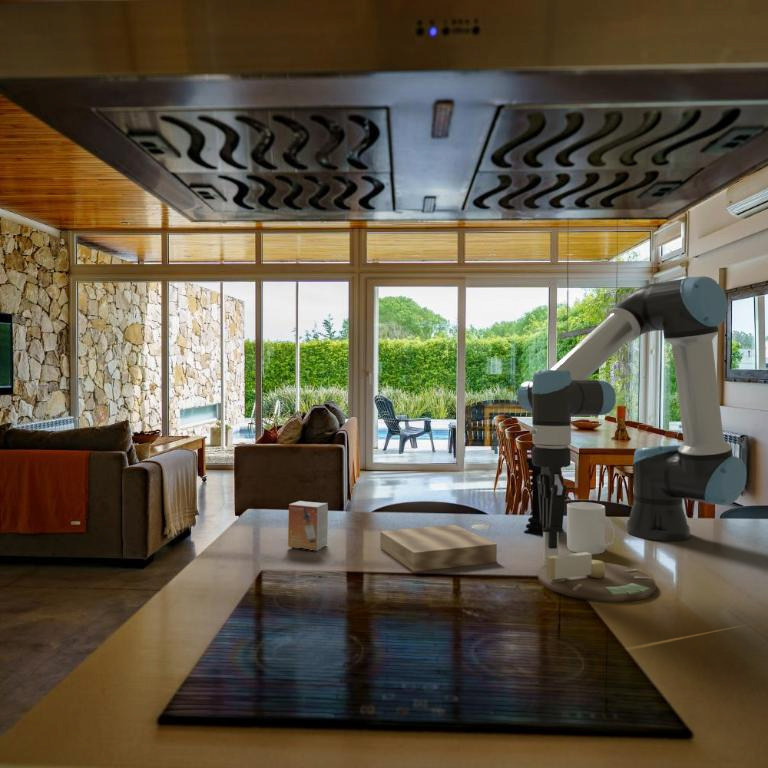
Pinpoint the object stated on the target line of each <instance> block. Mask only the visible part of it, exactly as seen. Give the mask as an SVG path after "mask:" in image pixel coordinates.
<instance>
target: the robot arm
mask: <svg viewBox="0 0 768 768" xmlns="http://www.w3.org/2000/svg"><path fill="white" fill-rule="evenodd" d="M728 305H729V304H728V299H727V295H726V294H725V291H724V289H723V287H722V286H721V285H720V284H719V283H718V282H717V281H716V280H715V279H714V278H712V277H710V276H703V275H702V276H701V275H700V276H689V277H684V278H680V279H675V280H673V279H672V280H667V281H661V282H655V283H650V284H647V285H644V286H641V287H639V288H637V289H636V290H634V291H632V292H631V293H630V294H628V295H626V296H625V297H624V298H622V299H621V300H619V302H617V303H616V304H615V305H613V307H612V308H610V309H609V310H608V311H607V312H606V313H605V316H604V320H603V321H602V322H601V323H600V324H598V325H597V326H596V328H594V329H593V330H592V331H591V332H589V334H587V335H586V336H585V337H584V338H583V339H582V340H581V341H580V342H578V343H577V344H576V345H575V346H574V347H573V348H572V349H571V350H570V351H568V352H567V353H566V354H565V355H564V356H563V357H561V358H560V360H559V361H557V362H556V363H555V364H553V366H552V367H551V368H550V369H539V370H536V371H535V372H534V373H533V375H532V379H531V380H526V381H523V382H522V383H521V384H520V386H519V388H518V390H517V402H518V404H519V407H521V409H523V411H525V412H529V413H532V415H531V417H532V418H531V419H532V422H531V423H532V429H529V434H530V435H532V438H531V439H532V444H533V445H534V446H533V447H532V448H531V458H532V463H533V465H535V466H539V467H541V474H539V476H537V483H538V494H539V512H540V523H541V524H542V527H543V528H542V531H543V535H542V545H543V546H542V563H543V564H544V565H547V557H550V556H556V555H559V537H560V536H559V534H560V533H559V531H562V529H563V530H564V528H563V526H564V525H563V524H564V511H565V500H566V494H567V491H568V487H567V485H565V484H564V480H565V479H564V476H563V474H562V468H567V467H570V466H571V453H572V452H571V449H570V447H569V446H570V445H571V444H572V417H586V416H587V417H588V416H589V417H594V416H595V417H598V416H605V415H607V414H610V412H611V411H613V409H614V407H615V406H616V401H617V397H616V396H617V395H616V394H617V393H616V391H615V389H614V387H613V386H612V384H611V383H609V382H608V381H606V380H599V379H589V378H591V376H592V375H593V374H594V373H596V371H597V370H598V369H599V368H600V367H602V366H603V365H604V364H605V363H606V362H607V361H608V360H609V359H610V358H611V357H612V356H614V355H615V354H616V353H617V352H618V351H619V350H620V349H621V348H622V347H623V346H624V345H625V344H626V343H627V342H633V341H636V339H638V338H639V337H640V336H641V335H644V334H647V333H650V332H656V331H662V333H663V339H664V340H665V341H666V342H668V343H669V344H670V345H671V348H672V356H673V365H674V374H675V380H676V390H677V399H678V404H679V405H678V407H679V413H680V415H679V416H680V424H681V431H682V437H683V439H682V440H683V442H682V444H677V445H660V446H658V445H657V446H656V445H655V446H642V447H641V446H640V447H638V448H636V449H635V451H634V452H633V453H634V456H633V463H632V466H633V504H632V507H631V510H630V514H629V519H628V520H627V521H626V532H627V534H629V535H631V536H634V537H637V538H641V539H647V540H653V541H664V542H675V541H676V542H677V541H678V542H681V541H685V540H688V539H689V540H690V538H691V528H690V526H689V525H688V521H687V518H686V513H685V511H684V507H683V505H684V504H683V500H689V501H694V502H699V503H704V504H705V503H706V504H707V505H717V506H729V505H731V504H733V503H734V502H736V501H737V500H738V499H739V498H740V496H741V494H742V493H743V491H744V489H745V486H746V482H747V472H748V471H747V467H746V463H744V461H743V459H741V458H739V457H737V456H734V453H733V447H732V445H731V443H728V442H727V441H726V440H725V439H724V431H723V429H724V428H723V423H722V415H721V414H722V413H721V412H722V411H721V405H720V395H719V387H718V379H717V371H716V369H717V368H716V361H715V354H714V344H713V343H714V342H713V340H714V338H715V337H716V336H717V335H718V334H719V326H720V325H721V324H723V323H725V320H726V319H727V313H728V309H729V306H728ZM562 532H563V531H562Z"/></svg>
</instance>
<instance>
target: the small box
mask: <svg viewBox="0 0 768 768" xmlns="http://www.w3.org/2000/svg"><path fill="white" fill-rule="evenodd" d="M328 510H329V504H328V502H316V501H315V502H313V501H304V500H298V501H296V502H292V503H289V504H288V529H287V530H288V531H287V533H288V534H287V536H288V537H287V547H288V546H289V547H288V548H290V547H294V548H293V549H299V548H305V549H312V550H318V551H320V550H322V549H323V548H322V547H324V546H326V545H327V546H328V526H329V524H328V522H329V521H328V518H329V517H328V516H329V515H328V514H329V511H328ZM327 546H326V547H327ZM321 548H322V549H321ZM324 548H325V547H324ZM305 549H304V550H305ZM319 549H320V550H319Z"/></svg>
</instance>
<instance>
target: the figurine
mask: <svg viewBox="0 0 768 768" xmlns="http://www.w3.org/2000/svg"><path fill="white" fill-rule="evenodd" d="M468 522H469V523H470V524H471V522H472V525H471V527H472V528H471V529H473V528H474V530H479V531H489V530H491V529H492V523H491V522H490V521H487V520H484V521H483V520H482V519H477V520H476V518H474V519H473V517H470V516H468V517H467V518H466V523H468ZM480 522H482V523H480ZM474 523H475V524H474ZM477 523H478V524H477ZM488 524H490V525H488Z"/></svg>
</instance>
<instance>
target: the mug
mask: <svg viewBox="0 0 768 768" xmlns="http://www.w3.org/2000/svg"><path fill="white" fill-rule="evenodd" d="M566 512H567V513H566V546H567V550H569V552H572V553H582V552H588V553H590V554H592V555H599V554H600V553H601V554H603V553H604V552H605V550H607V549H610V548H611V547H612V546H613V544H614V541H615V528H614V525H613V522H612V521H611V520H610V519H609V518H608V517H607V515H606V506H605V505H603V504H600V503H595V502H585V501H580V502H578V501H577V502H575V501H574V502H569V503H566ZM606 525H607V526H608V527H609V528H610V530H611V534H612V538H611V540H610V541H609V542H606Z"/></svg>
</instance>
